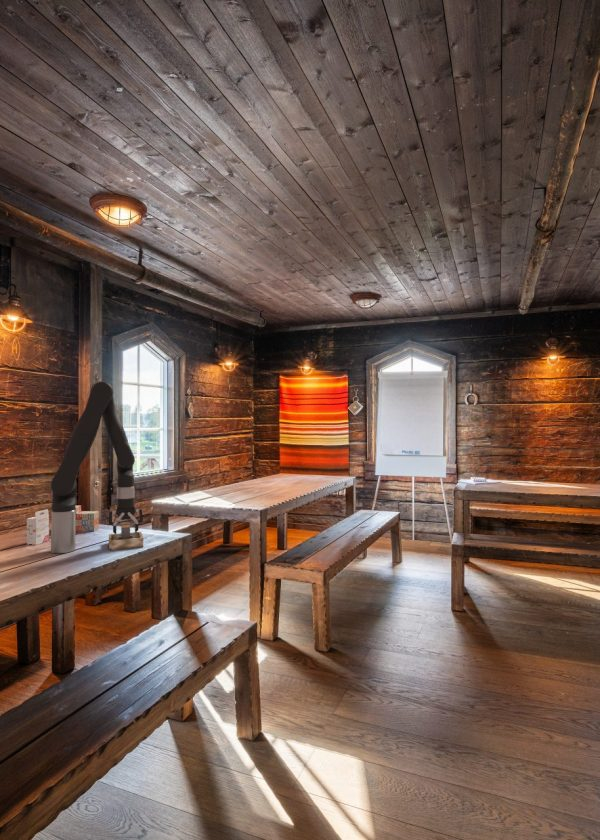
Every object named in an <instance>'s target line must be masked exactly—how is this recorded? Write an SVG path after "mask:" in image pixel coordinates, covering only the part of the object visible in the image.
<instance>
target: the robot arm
mask: <svg viewBox="0 0 600 840" xmlns="http://www.w3.org/2000/svg"><path fill="white" fill-rule="evenodd" d="M89 391H90V393H89V396H88V399H87V403H86V405H85V408H84V410H83V412H82V414H81V416H79V418H78V421H77V423H76V424H75V426H74V429H73V430H72V433H71V435H70V438H69V441H68V442H67V443H68V444H67V446H66V449H65V450H64V451H65V452H64V454H63V458H62V461H61V464H60V465H59V467H58V469H57V470H56V472H55V474H54V476H53V477H52V479H51V481H50V489H51V491H52V503H51V530H50V554H66V553H67V554H68V553H72V552H73V551H75V550H76V547H77V545H76V506H77V476H78V474H79V473H78V472H79V471H80V468H81V465H82V464H83V462H84V461H85V459H86V457H87V456H88V454H89V452H90V450H91V449H92V446H93V444H94V442H95V439H96V437H97V434H98V431H99V427H100V424H101V419H102V418H103V421H104V425H105V429H106V430H105V431H106V433H107V435H108V438H109V442H110V444H111V446H112V448H113V449H114V452H115V456H116V469H117V480H116V482H117V488H116V510H112V509H110V510H109V512H108V525H111V526H112V532H113V533H112V534H117V524H118V523H119V522H120V520H122V521H126V520H132V521H133V522H134V532H135V533H137V532H139V524H141V523H143V521H144V520H143V519H144V518H143V510H142V509H143V508H135V507H136V503H135V502H136V499H135V498H136V497H135V496H136V494H135V493H136V491H135V476H134V465H135V462H136V459H135V456H134V453H133V451H132V448H131V446H130V443H129V441H128V438H127V437H128V436H127V434H126V431H125V429H124V426H123V423H122V421H121V419H120V416H119V415H118V411H117V408H116V405H115V400H114V399H115V398H114V389H113V387H112V385H111V384H110V383H108V382H106V381H98V382H95V383H94V384H92V386H91V389H90V390H89ZM135 514H137V515H138V518H139V519H137V518H136V517H135ZM114 515H116V516H117V517H116V518H115V520H114V521H113V516H114Z"/></svg>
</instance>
